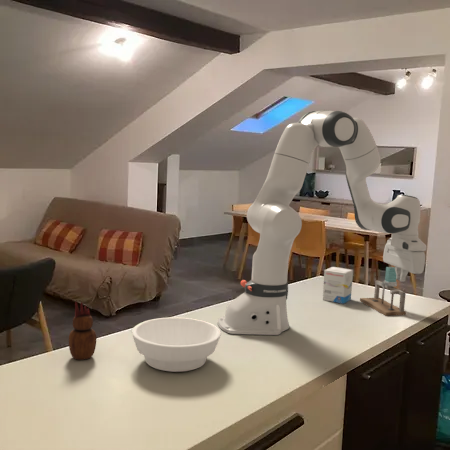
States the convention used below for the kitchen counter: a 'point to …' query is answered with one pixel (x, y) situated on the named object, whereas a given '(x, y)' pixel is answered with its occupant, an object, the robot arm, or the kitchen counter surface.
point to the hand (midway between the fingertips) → (400, 280)
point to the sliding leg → (389, 280)
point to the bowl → (176, 342)
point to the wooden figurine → (82, 334)
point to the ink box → (337, 284)
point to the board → (386, 307)
